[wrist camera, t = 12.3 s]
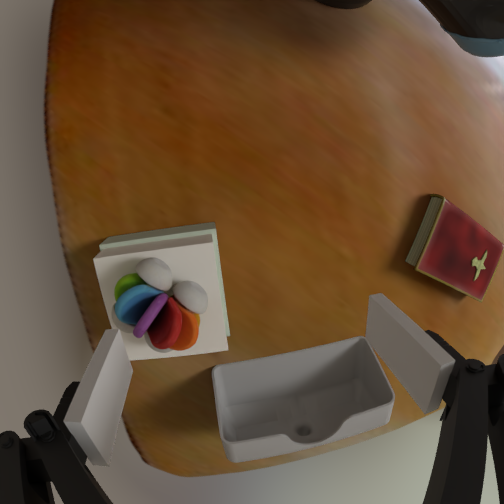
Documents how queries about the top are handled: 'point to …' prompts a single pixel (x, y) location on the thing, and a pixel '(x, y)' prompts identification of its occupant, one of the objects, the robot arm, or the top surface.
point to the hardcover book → (455, 249)
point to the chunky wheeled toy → (159, 307)
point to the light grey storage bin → (300, 399)
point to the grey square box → (183, 269)
